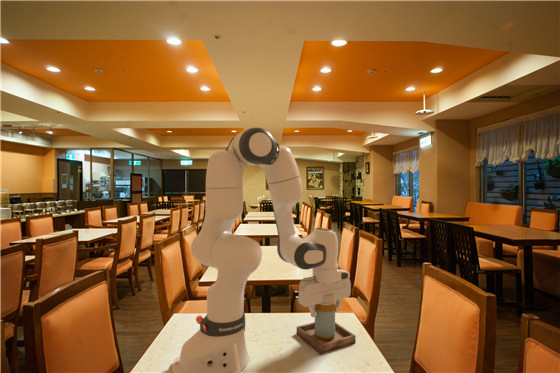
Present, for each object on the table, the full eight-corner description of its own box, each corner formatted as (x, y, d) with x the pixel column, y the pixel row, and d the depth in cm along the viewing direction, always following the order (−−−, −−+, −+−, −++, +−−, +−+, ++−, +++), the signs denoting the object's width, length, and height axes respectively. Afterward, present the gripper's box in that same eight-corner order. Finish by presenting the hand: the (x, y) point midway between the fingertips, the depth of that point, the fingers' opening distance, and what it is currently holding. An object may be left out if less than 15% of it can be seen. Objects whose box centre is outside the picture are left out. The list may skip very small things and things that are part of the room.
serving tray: (320, 354, 95) (320, 346, 95) (296, 333, 108) (296, 326, 108) (355, 342, 102) (355, 335, 102) (329, 324, 115) (329, 318, 115)
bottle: (333, 331, 108) (333, 289, 108) (336, 341, 101) (336, 297, 101) (314, 330, 109) (314, 289, 109) (315, 340, 102) (315, 296, 102)
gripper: (304, 281, 97) (304, 323, 97) (353, 272, 107) (353, 311, 107) (294, 276, 103) (294, 316, 103) (342, 268, 112) (342, 305, 112)
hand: (325, 313), depth 105 cm, fingers open, 8 cm apart
